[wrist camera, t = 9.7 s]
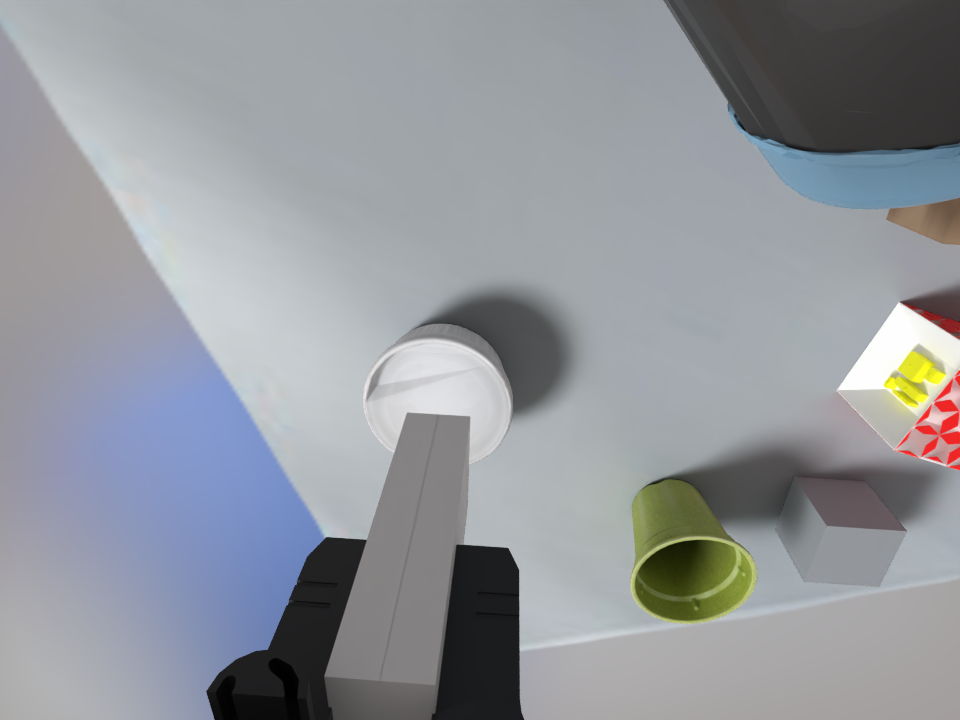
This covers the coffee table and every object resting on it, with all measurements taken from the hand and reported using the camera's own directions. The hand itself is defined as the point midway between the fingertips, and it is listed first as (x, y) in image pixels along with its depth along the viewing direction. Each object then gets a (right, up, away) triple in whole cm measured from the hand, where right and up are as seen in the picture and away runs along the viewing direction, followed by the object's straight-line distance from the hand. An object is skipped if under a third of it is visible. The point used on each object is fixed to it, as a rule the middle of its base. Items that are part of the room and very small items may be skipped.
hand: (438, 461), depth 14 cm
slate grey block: (+31, -10, +37) cm, 49 cm away
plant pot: (+18, -10, +38) cm, 43 cm away
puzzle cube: (+34, +2, +30) cm, 45 cm away
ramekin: (-2, +1, +33) cm, 33 cm away
